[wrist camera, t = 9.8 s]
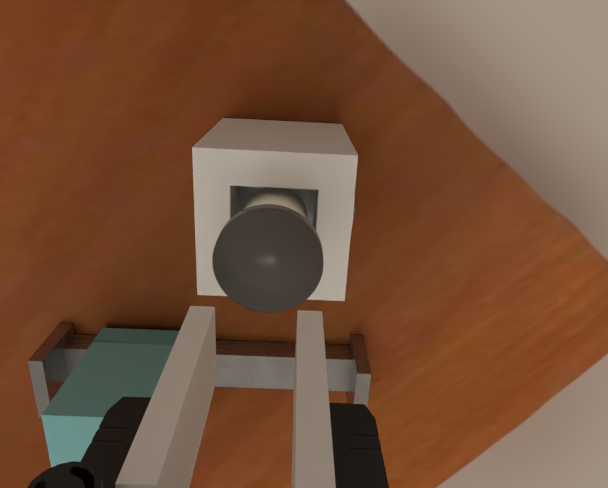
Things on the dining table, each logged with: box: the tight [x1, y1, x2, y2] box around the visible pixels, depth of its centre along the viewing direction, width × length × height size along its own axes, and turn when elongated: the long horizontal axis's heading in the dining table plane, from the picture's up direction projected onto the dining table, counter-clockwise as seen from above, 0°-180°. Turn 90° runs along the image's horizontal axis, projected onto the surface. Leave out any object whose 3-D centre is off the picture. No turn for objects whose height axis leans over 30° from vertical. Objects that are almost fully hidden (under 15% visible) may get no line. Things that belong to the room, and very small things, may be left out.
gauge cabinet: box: [192, 118, 358, 301], centre depth 30 cm, size 9×8×10 cm
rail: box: [28, 323, 371, 418], centre depth 38 cm, size 24×5×5 cm, turn 87°
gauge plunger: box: [212, 187, 323, 313], centre depth 24 cm, size 5×5×6 cm
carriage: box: [41, 328, 179, 468], centre depth 35 cm, size 7×5×10 cm
